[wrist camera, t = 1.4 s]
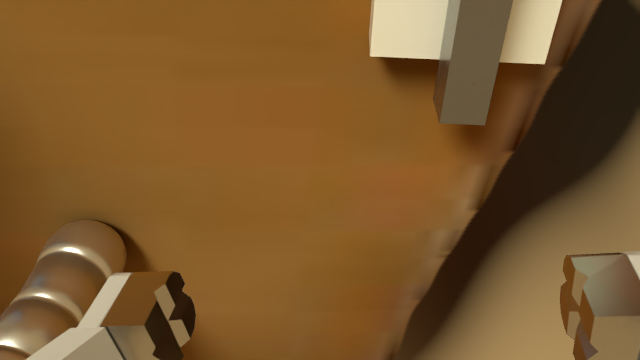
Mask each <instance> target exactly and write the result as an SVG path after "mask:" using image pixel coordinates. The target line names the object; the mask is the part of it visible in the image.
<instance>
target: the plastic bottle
mask: <svg viewBox="0 0 640 360" xmlns="http://www.w3.org/2000/svg"><path fill="white" fill-rule="evenodd" d="M126 260H127V251H126V247H125V245H124V242H123V240H122V238H121V237H120V235H119V234H118V233H117V232H116V231H115V230H114V229H113V228H111V227H110V226H108V225H106V224H104V223H101V222H99V221H94V220H79V221H74V222H70V223H67V224H65V225H63V226H62V227H61V228H60V229H59V230H58V231H56V232H55V233H54V234H53V235H52V236H51V237H50V238H49V239H48V240H47V242H46V243H45V245H44V247H43V249H42V251H41V253H40V255H39V257H38V260H37V263H36V266H35V267H34V269H33V271H32V272H31V274H30V276H29V277H28V279H27V281H26V282H25V284H24V286H23V287H22V289H21V290H20V292H19V294H18V295H17V296H16V297H15V298H14V300H13V301H12V302H11V304H10V305H9V306H8V307H7V308H6V309H5V311H4V312H3V313H2V314H1V315H0V360H26V359H27V358H28V357H30V356H31V355H33V354H34V353H36V352H37V351H38V350H40V349H41V348H43V347H44V346H45V345H47V344H48V343H50V342H51V341H53V340H54V339H55V338H57V337H58V336H60V335H61V334H63V333H64V332H65V331H67V330H68V329H70V328H77V326H78V325H79V323H80V322H81V320H82V319H83V317H84V316H85V314H86V312H87V311H88V309H89V308H90V306H91V305H92V303H93V301H94V300H95V298H96V297H97V295H98V294H99V292H100V291H101V289H102V287H103V286H104V284H105V283H106V281H107V280H108V278H109V277H110V276H111V275H113V274H114V273H123V271H124V267H125V264H126Z"/></svg>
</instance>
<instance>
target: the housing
mask: <svg viewBox="0 0 640 360" xmlns="http://www.w3.org/2000/svg"><path fill="white" fill-rule="evenodd" d="M448 1H449V0H372V1H371V14H370V27H369V45H370V56H375V57H396V58H418V59H439V58H440V52H441V46H442V39H443V33H444V27H445V20H446V14H447V8H448ZM561 4H562V0H513V3H512V8H511V12H510V17H509V21H508V26H507V30H506V34H505V39H504V43H503V48H502V52H501V57H500V61H499V62H506V63H528V64H545V61H546V58H547V54H548V50H549V47H550V43H551V40H552V36H553V32H554V29H555V25H556V22H557V18H558V14H559V11H560V7H561Z"/></svg>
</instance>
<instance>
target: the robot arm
mask: <svg viewBox="0 0 640 360" xmlns="http://www.w3.org/2000/svg"><path fill="white" fill-rule="evenodd" d="M563 272H564V274H565V277H566V280H567V281H566V282H565V283H564V284H563V285H562V286H561V293H560V304H561V305H560V306H561V315H562V319H563V324H564V327H565V330H566V333H567V334H568V335H569V336H570V337H571V338H573V339H574V340H575V343H574V350H573V354H574V357H575V360H640V251H635V252H623V253H601V254H580V255H566V257H565V260H564V266H563ZM184 285H185V283H184V280H183V278H182V276H181V274H180V273H178V272H175V271H162V272H131V273H114V274H113V275H111V276H110V277H109V278H108V280H107V281H106V283H105V284H104V286H103V287H102V289H101V291H100V292H99V294H98V295H97V297H96V298H95V300H94V301H93V303H92V305H91V306H90V308H89V309H88V311H87V312H86V314H85V316H84V317H83V319H82V320H81V322H80V323H79V325H78V326H77V328H70V329H68V330H67V331H65V332H64V333H63V334H61V335H60V336H58V337H57V338H55V339H54V340H53V341H51V342H50V343H48V344H47V345H45V346H44V347H43V348H41V349H40V350H38V351H37V352H36V353H34V354H33V355H31V356H30V357H28V358H27V359H26V360H182V359H183V356H184V355H183V352H182V350H181V347H182V346H183V345H184V344H185V343H186V342H187V341H189V340H190V339H191V336H192V333H193V331H194V328H195V318H196V313H195V307H194V304H193V301H192V299H191V297H190V296H188V295H187V294H186V293H184V292H183V291H182V289H183V287H184Z"/></svg>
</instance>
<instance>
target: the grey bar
mask: <svg viewBox="0 0 640 360" xmlns="http://www.w3.org/2000/svg"><path fill="white" fill-rule="evenodd" d="M512 3H513V0H449V1H448V8H447V14H446V20H445V27H444V33H443V39H442V46H441V52H440V58H439V65H438V71H437V77H436V83H435V90H434V96H433V101H434V105H435V108H436V112H437V116H438V119H439V123H447V124H467V125H485V123H486V119H487V114H488V110H489V105H490V101H491V96H492V92H493V88H494V83H495V79H496V74H497V70H498V65H499V61H500V57H501V52H502V48H503V43H504V39H505V34H506V30H507V26H508V21H509V17H510V12H511V8H512Z"/></svg>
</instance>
